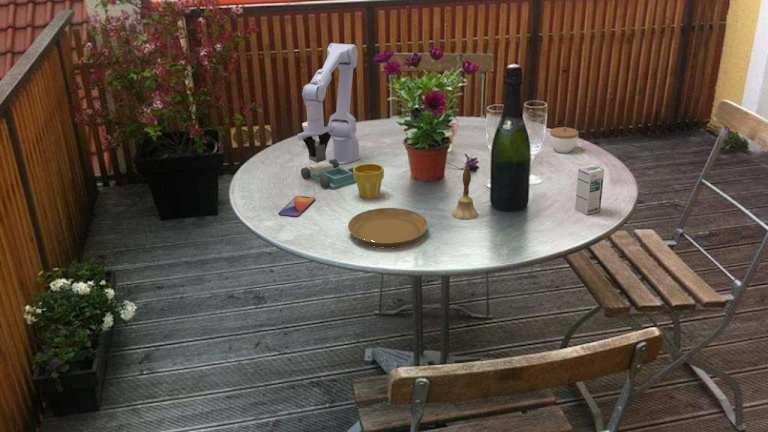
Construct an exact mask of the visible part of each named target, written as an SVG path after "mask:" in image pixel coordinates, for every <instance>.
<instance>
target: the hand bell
mask: <svg viewBox="0 0 768 432" xmlns="http://www.w3.org/2000/svg"><path fill="white" fill-rule="evenodd" d="M462 173H463V174H462V184H463V192H462V193H463V194H462V196H460V197H459V198H458V201H457V205H456V207H455V209H453V211H452V212H451V215H452V216H453V218H456V219H459V220H465V221H466V220H473V219H476V218H477V217H478V216H479V212H478V210H476V209H475V206H474V200H473V198H472V197H470V196H469V190H470V184H471V179H472V174H471V171H470V167H468V166H466V167H464V169H463V172H462Z"/></svg>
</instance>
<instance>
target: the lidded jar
mask: <svg viewBox="0 0 768 432" xmlns="http://www.w3.org/2000/svg"><path fill="white" fill-rule="evenodd" d="M579 134H580V133H579V130H577V129H575V128H572V127H566V126H563V127H561V126H560V127H555V128H552V129H550V131H549V140H550V141H549V142H550V145H551V147H552V148H553V149H554V151H555V152H556V153H560V154H569V153H571V151H572V150H573V149H574V148H575V147H576V145H577V143H578V140H579V139H578V138H579Z"/></svg>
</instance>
